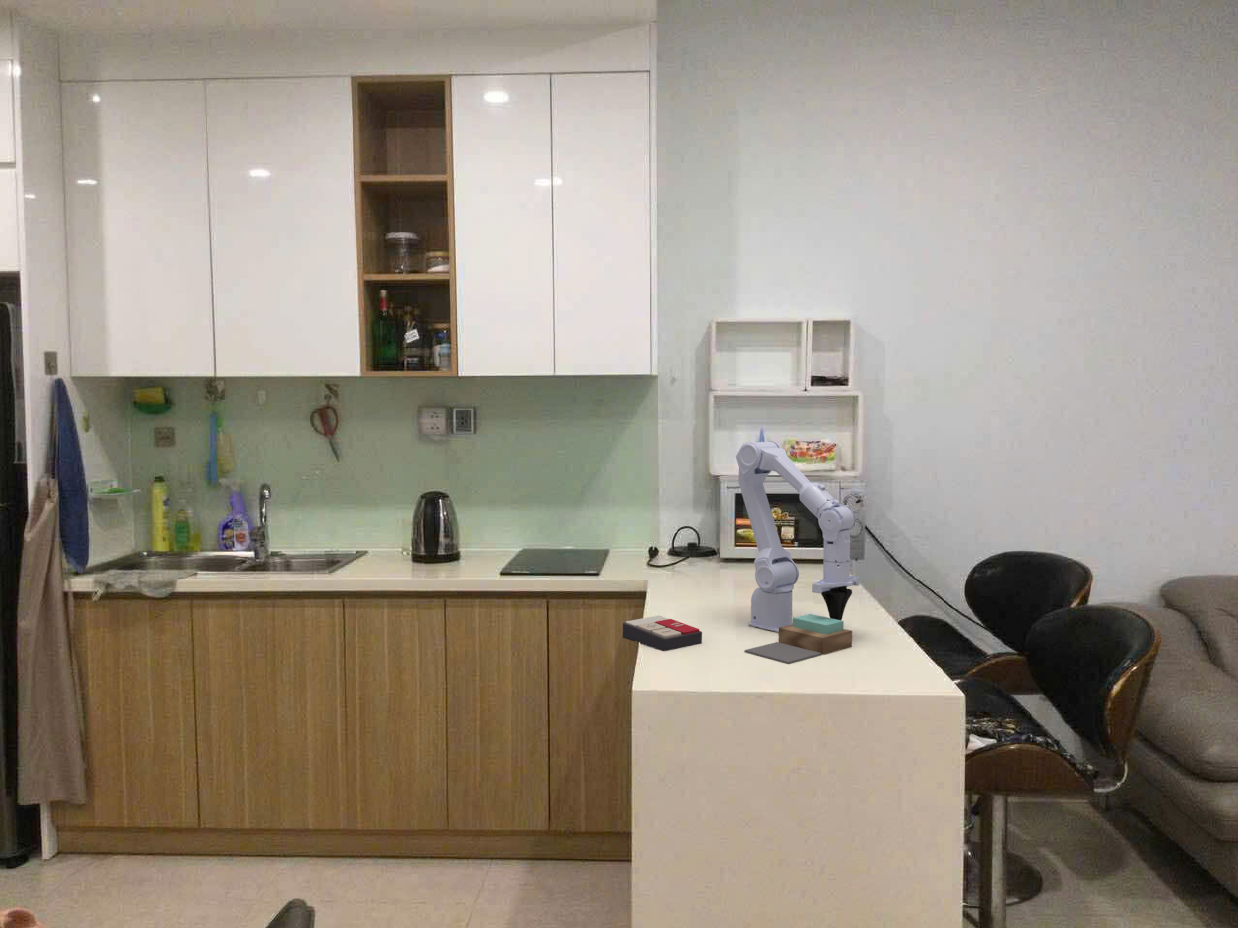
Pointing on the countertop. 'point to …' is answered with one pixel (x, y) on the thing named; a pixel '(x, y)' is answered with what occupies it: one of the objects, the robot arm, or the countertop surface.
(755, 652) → the mat
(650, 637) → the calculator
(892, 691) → the countertop surface
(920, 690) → the countertop surface
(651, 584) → the countertop surface
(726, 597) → the countertop surface
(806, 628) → the block
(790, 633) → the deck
